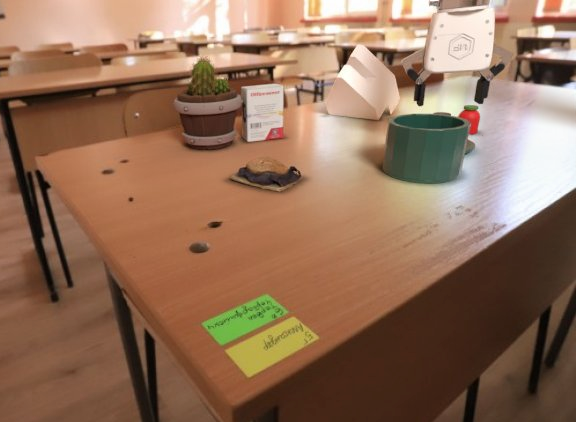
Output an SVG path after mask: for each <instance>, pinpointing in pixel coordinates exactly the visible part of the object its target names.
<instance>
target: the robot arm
mask: <svg viewBox="0 0 576 422" xmlns="http://www.w3.org/2000/svg"><path fill="white" fill-rule="evenodd" d="M490 1H491V0H428V7H432V6H433V7H435V8H436V12H433V13H432V15H431V18H430V22H429V24H428V29H427V32H426V37H425V41H424V47H422V48H420V49H419V50H416V51H415V52H413V53H412V54H410V55H408V56H406V57H404V58H402V60H401V61H400V62H401V65H402V67H403V69H404V70H405V73H406V75H407V76H408V77H409V78H410V79H411V80H412V81H413V82H414V93H413V101H414V102H416V105H417V106H418V107H423V106H424V103H425V95H426V94H425V93H426V87H427V85H426V83H425V81H426V80H427V79H428V78H429V77H430V76H431V75H432V74H455V73H456V74H457V73H470V72H472V73H473V72H476V73H478V74H479V76H480V77H479V78H478V79H476V80H477V81H476V85H475V93H474V97H473V98H474V99H473V101H474V102H475V103H476V104H478V105H483V104H484V101H485V99H488V97H489V96H488V95H489V90H490V85H491V81H493V80H494V79H495V77H496V76H498V75H499V74H500V73H501V72H503V71H504V70H505V68H506V66H507V65H508V63H509V62H510V61H511V60H512V59H513V57H514V52H513V51H510V50H508V49H505V48H503V47H502V46H499V45H497V44H494V43H495V42H494V40H495V30H496V29H495V27H496V11H495V7H490ZM493 54H494V55H496V56H498V57H499V59H498V60H497V62H496V63H495V64H493V65H492V66H491V62H492V58H493ZM420 59H422V60H421V61H422V62H421V66H422V68H421V69H420V71H419V72H418V73H417V71H415V70H414V68H413V65H412V64H413V63H414V62H416V61H418V60H420ZM490 66H491V67H490ZM489 67H490V68H489Z"/></svg>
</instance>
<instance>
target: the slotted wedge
mask: <svg viewBox="0 0 576 422" xmlns="http://www.w3.org/2000/svg"><path fill="white" fill-rule="evenodd" d="M400 101H401V97H400V93H399V88H398V83H397V79H396V75H395V74H394V73H393V72H392V71H391V70H390V68H388V67H387V66H386V65H385V64H384V63H383V62H382V61H381V60H379V59H378V57H376V56H375V54H373V52H371V50H369V49H368V48H367V47H366V46H365V45H364V44H357V45H356V46H355V48H354V50H352V53H351V54H350V56H349V57H348V59H347V61H346V63H345V64H344V65H343V66H342V68H341V70H340V71H339V73H338V74H337V76H336V77H335V80H334V82H333V84H332V86H331V89H330V91H329V94H328V96H327V98H326V101H325V103H324V105H325V107H326V110H327V113H328V115H330V116H331V115H332V116H338V117H339V116H340V117H348V118H355V119H357V118H358V119H365V120H371V121H372V120H374V121H380V118H381V117H382V116H383V113H385V110H386V108H387V106H388V109H389V113H390V115H392V114H393V112H394V111H395V109H396V107H397V106H398V104H399V102H400Z"/></svg>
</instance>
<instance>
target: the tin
mask: <svg viewBox="0 0 576 422" xmlns="http://www.w3.org/2000/svg"><path fill="white" fill-rule="evenodd" d="M470 126H471V123H470V122H469V121H468V120H466V119H463V118H460V117H458V116H455V115H451V116H449V115H442V114H433V113H407V114H399V115H395V116H392V117H390V118H388V119H387V126H386V135H385V141H384V152H383V161H382V171H383V172H384V173H385V174H386V175H387V176H389V177H391V178H394V179H397V180H401V181H404V182H410V183H415V184H443V183H449V182H453V181H455V180H457V179H459V178H460V175H461V172H462V169H463V164H464V159H465V154H466V153H465V150H466V145H467V140H469V135H470V134H469V131H470Z"/></svg>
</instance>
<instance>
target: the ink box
mask: <svg viewBox="0 0 576 422" xmlns="http://www.w3.org/2000/svg"><path fill="white" fill-rule="evenodd" d="M240 89H241V90H240V96H241V100H243V103H242V104H241V130H242V131H241V132H242V133H241V134H242V135H241V137H242V139H244V141H245V142H248V143H252V142H260V141H261V142H262V141H268V140H277V139H283V138H284V106H285V105H284V101H285V100H284V99H285V98H284V97H285V96H284V95H285V93H284V92H285V86H284V85H282V84H279V83H268V84H256V85H247V86H246V85H245V86H241V87H240Z"/></svg>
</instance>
